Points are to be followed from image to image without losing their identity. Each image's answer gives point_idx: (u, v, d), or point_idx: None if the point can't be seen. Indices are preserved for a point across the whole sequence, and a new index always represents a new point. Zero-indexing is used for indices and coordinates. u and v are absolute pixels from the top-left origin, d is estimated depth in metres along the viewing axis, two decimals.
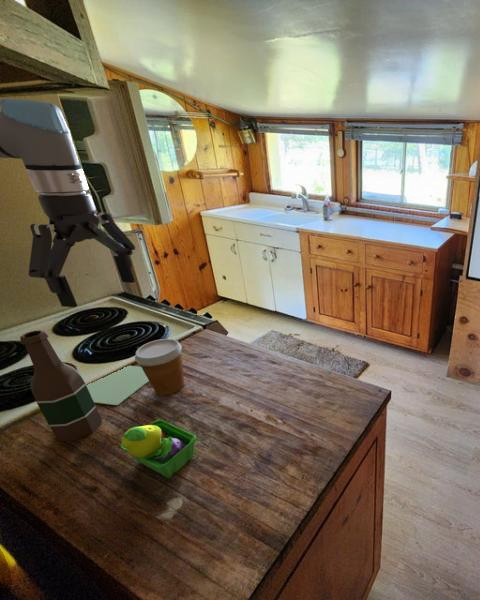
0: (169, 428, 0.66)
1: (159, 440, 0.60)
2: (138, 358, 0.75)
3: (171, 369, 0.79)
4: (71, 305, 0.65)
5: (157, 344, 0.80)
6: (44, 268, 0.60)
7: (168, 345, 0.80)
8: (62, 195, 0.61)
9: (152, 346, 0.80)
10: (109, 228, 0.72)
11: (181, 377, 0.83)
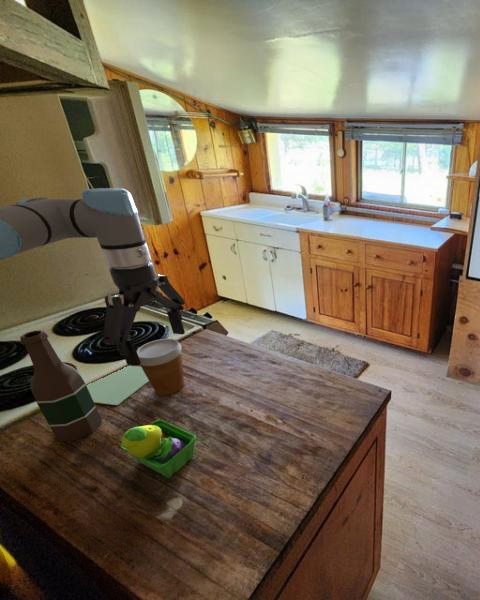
0: (169, 428, 0.66)
1: (159, 440, 0.60)
2: None
3: (171, 369, 0.79)
4: (136, 364, 0.72)
5: (157, 344, 0.80)
6: (116, 335, 0.67)
7: (168, 345, 0.80)
8: (131, 268, 0.67)
9: (152, 346, 0.80)
10: (164, 288, 0.79)
11: (181, 377, 0.83)
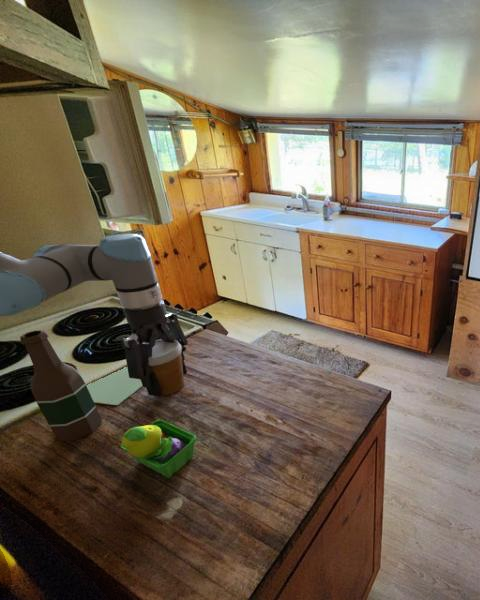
0: (169, 428, 0.66)
1: (159, 440, 0.60)
2: None
3: (171, 369, 0.79)
4: (157, 395, 0.79)
5: (157, 344, 0.80)
6: (140, 371, 0.73)
7: (168, 345, 0.80)
8: (144, 308, 0.71)
9: None
10: (172, 326, 0.82)
11: (181, 377, 0.83)
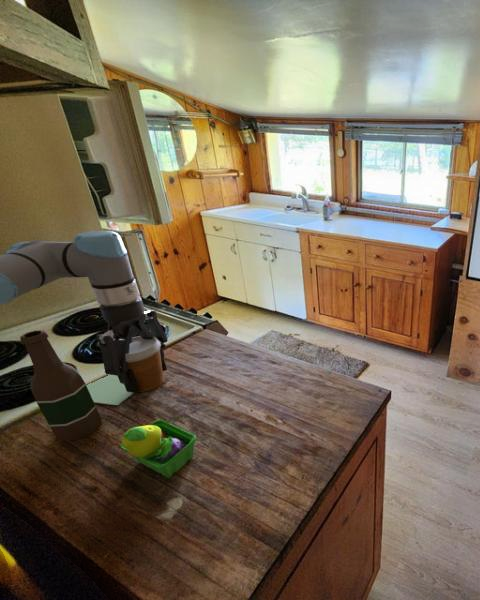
0: (169, 428, 0.66)
1: (159, 440, 0.60)
2: None
3: (149, 365, 0.79)
4: (135, 391, 0.79)
5: (136, 341, 0.81)
6: (116, 368, 0.73)
7: (146, 342, 0.81)
8: (120, 305, 0.72)
9: None
10: (151, 323, 0.83)
11: (160, 374, 0.83)
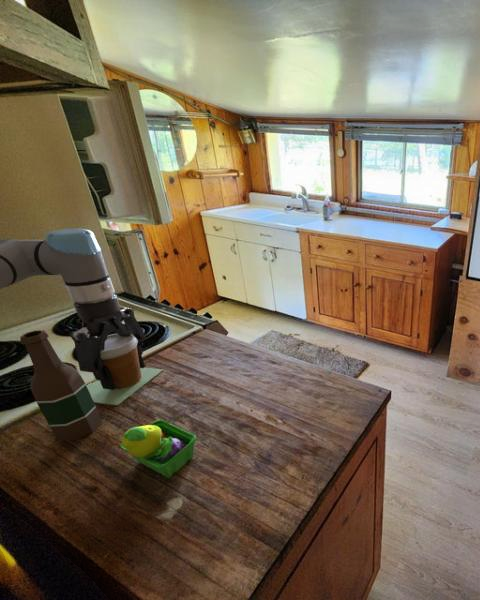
0: (169, 428, 0.66)
1: (159, 440, 0.60)
2: None
3: (125, 363, 0.80)
4: (111, 388, 0.79)
5: (112, 338, 0.81)
6: (90, 365, 0.74)
7: (123, 340, 0.81)
8: (94, 302, 0.72)
9: (107, 340, 0.81)
10: (128, 321, 0.83)
11: (137, 371, 0.84)
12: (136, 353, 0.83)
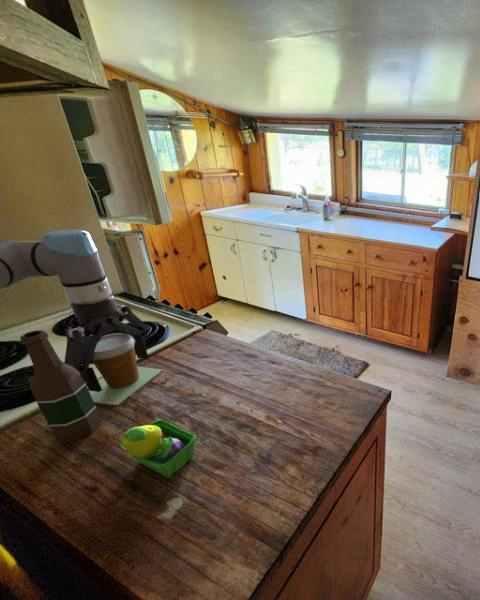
0: (169, 428, 0.66)
1: (159, 440, 0.60)
2: None
3: (122, 363, 0.80)
4: (97, 390, 0.77)
5: (109, 338, 0.82)
6: (76, 365, 0.72)
7: (120, 340, 0.81)
8: (91, 303, 0.73)
9: (104, 340, 0.81)
10: (127, 317, 0.84)
11: (134, 371, 0.84)
12: (133, 353, 0.83)
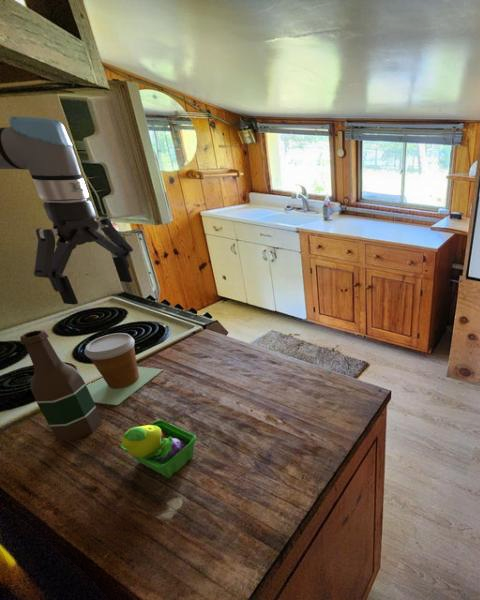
0: (169, 428, 0.66)
1: (159, 440, 0.60)
2: (87, 352, 0.76)
3: (122, 363, 0.80)
4: (72, 302, 0.71)
5: (109, 338, 0.82)
6: (48, 269, 0.66)
7: (120, 340, 0.81)
8: (65, 202, 0.67)
9: (104, 340, 0.81)
10: (108, 232, 0.78)
11: (134, 371, 0.84)
12: (133, 353, 0.83)
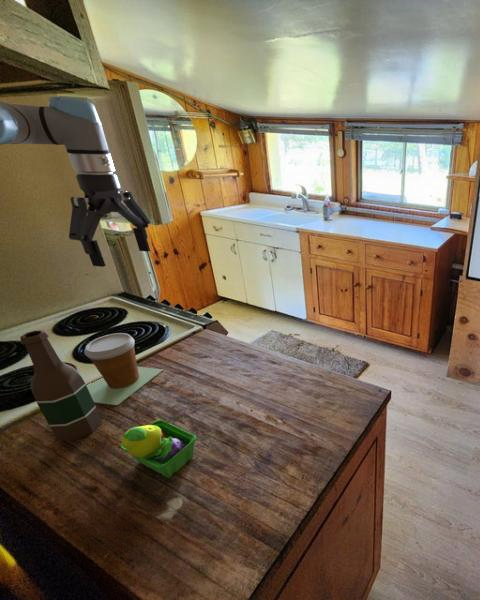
0: (169, 428, 0.66)
1: (159, 440, 0.60)
2: (87, 352, 0.76)
3: (122, 363, 0.80)
4: (101, 265, 0.80)
5: (109, 338, 0.82)
6: (81, 232, 0.75)
7: (120, 340, 0.81)
8: (95, 174, 0.76)
9: (104, 340, 0.81)
10: (130, 204, 0.87)
11: (134, 371, 0.84)
12: (133, 353, 0.83)
